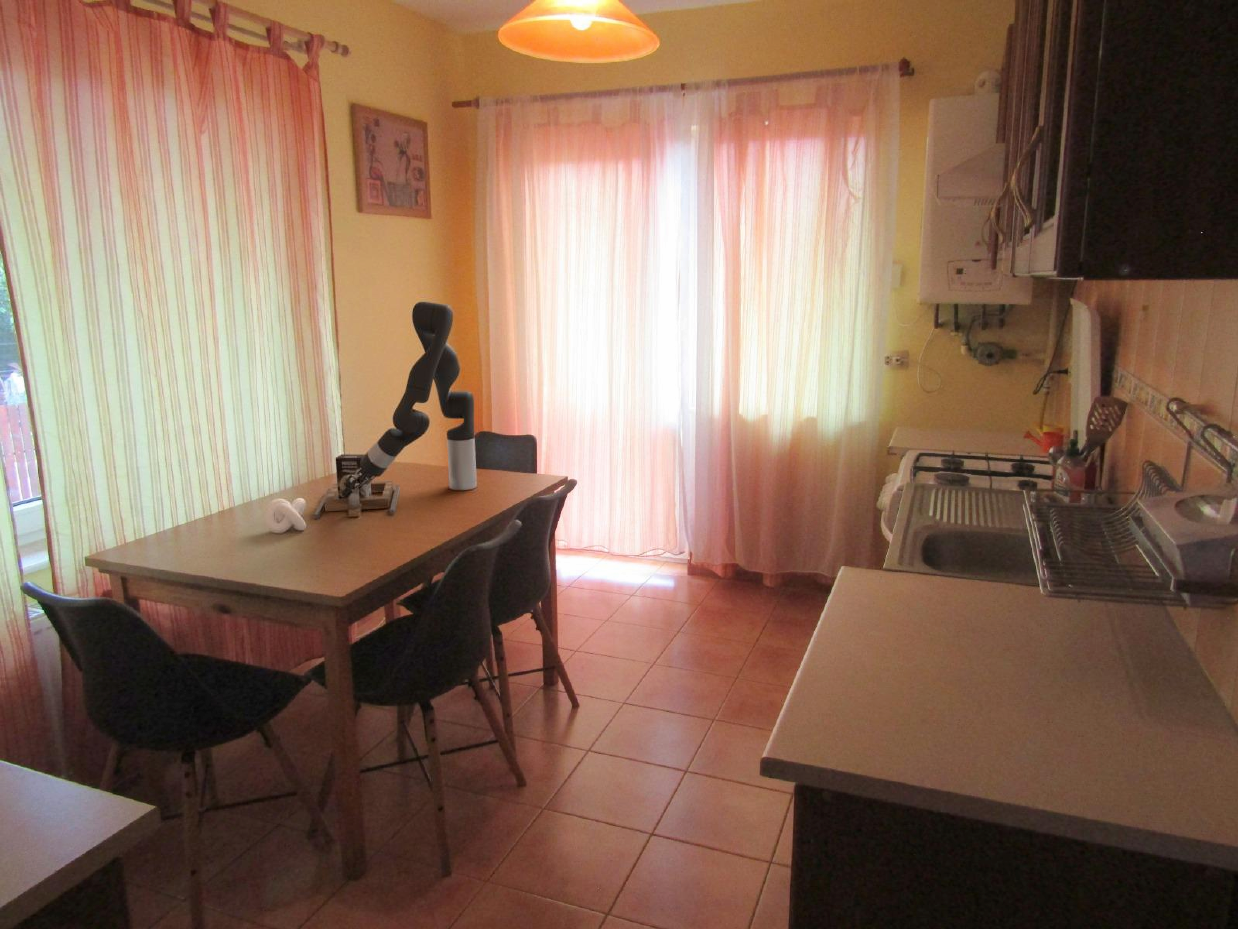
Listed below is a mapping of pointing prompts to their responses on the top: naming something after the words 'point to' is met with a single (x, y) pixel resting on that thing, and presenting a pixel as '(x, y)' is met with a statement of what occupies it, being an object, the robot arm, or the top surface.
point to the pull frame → (360, 499)
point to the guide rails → (322, 505)
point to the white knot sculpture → (284, 515)
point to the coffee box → (349, 473)
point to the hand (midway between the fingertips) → (347, 494)
